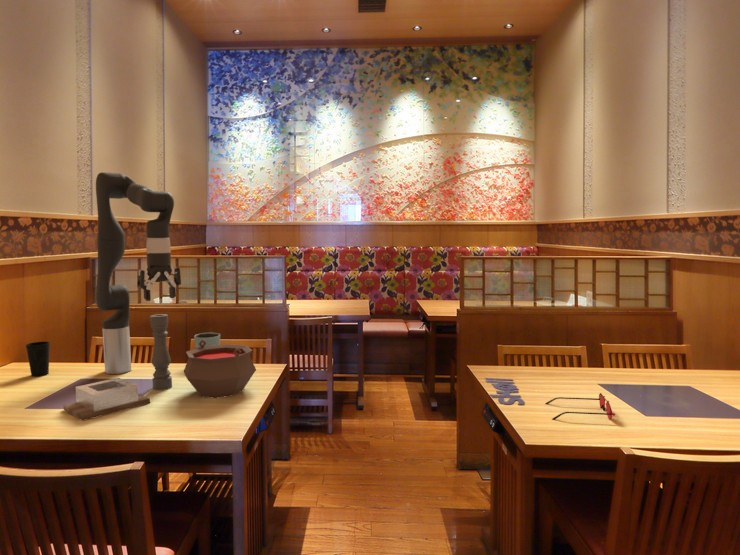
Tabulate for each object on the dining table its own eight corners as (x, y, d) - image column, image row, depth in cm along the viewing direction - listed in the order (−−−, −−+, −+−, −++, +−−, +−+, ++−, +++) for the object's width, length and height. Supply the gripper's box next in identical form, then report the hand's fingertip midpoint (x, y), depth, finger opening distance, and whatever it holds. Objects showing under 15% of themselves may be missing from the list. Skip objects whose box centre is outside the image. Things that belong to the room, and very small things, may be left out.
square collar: (76, 402, 164) (75, 386, 164) (119, 392, 174) (118, 377, 174) (94, 411, 156) (93, 395, 155) (138, 400, 166) (137, 384, 165)
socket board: (63, 410, 162) (63, 405, 162) (129, 394, 177) (129, 390, 177) (82, 420, 153) (82, 415, 153) (150, 402, 168) (149, 398, 168)
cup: (55, 373, 205) (53, 342, 204) (34, 378, 199) (32, 346, 197) (45, 371, 209) (43, 340, 208) (24, 375, 203) (21, 344, 202)
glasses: (615, 424, 146) (615, 406, 145) (551, 421, 149) (552, 403, 148) (602, 407, 160) (603, 390, 159) (544, 405, 162) (544, 388, 162)
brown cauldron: (169, 392, 179) (167, 344, 177) (231, 377, 196) (230, 333, 195) (207, 408, 163) (205, 355, 161) (271, 390, 180) (270, 342, 179)
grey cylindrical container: (213, 360, 223) (212, 331, 222) (226, 364, 216) (225, 334, 215) (190, 364, 216) (189, 335, 215) (202, 368, 209) (201, 338, 208)
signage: (526, 404, 161) (492, 403, 162) (526, 406, 161) (492, 405, 162) (513, 378, 189) (484, 377, 190) (513, 380, 189) (484, 379, 190)
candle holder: (175, 384, 188) (172, 314, 185) (166, 390, 181) (163, 317, 179) (158, 384, 188) (154, 314, 186) (149, 389, 182) (145, 316, 180)
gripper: (172, 250, 187) (174, 296, 189) (132, 251, 177) (134, 300, 178) (184, 251, 182) (185, 298, 184) (143, 252, 172) (145, 303, 174)
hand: (160, 299), depth 181 cm, fingers open, 8 cm apart
